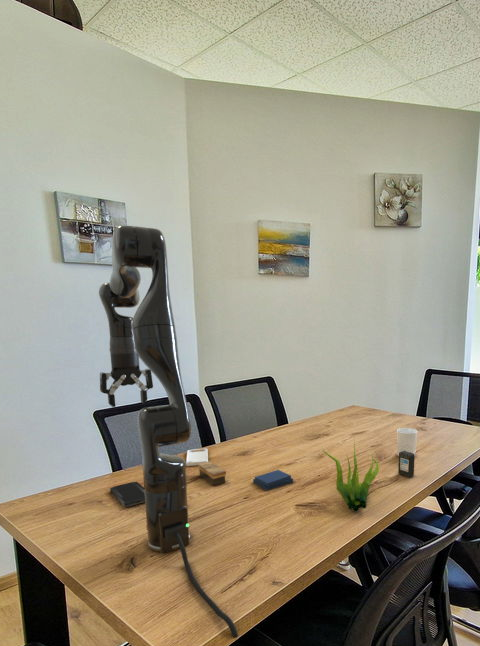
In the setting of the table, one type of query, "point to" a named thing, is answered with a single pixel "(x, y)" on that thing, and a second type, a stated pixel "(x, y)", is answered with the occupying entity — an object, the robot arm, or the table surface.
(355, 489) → the decorative plant
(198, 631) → the table surface
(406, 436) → the white cup
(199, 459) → the phone case
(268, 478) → the folded cloth
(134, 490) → the phone
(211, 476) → the tan two-tone block
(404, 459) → the ink cartridge
